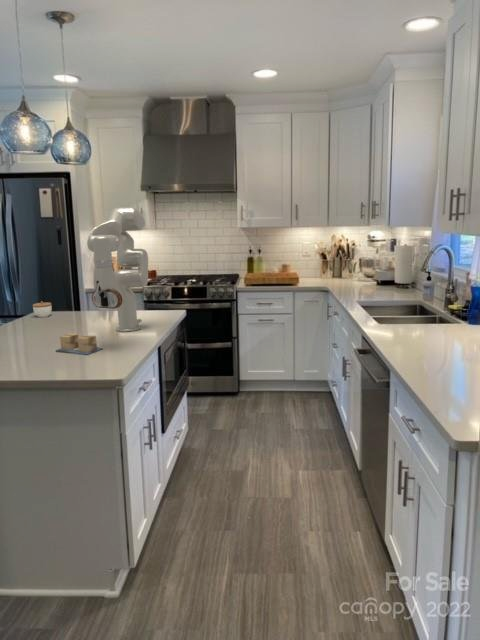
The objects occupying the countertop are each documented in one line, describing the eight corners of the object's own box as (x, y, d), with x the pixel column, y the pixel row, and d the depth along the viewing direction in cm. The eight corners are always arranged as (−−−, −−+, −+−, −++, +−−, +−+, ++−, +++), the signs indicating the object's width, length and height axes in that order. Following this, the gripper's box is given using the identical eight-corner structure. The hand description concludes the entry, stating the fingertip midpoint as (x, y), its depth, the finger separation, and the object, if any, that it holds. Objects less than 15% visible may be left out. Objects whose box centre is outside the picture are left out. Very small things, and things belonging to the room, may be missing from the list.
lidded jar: (34, 315, 306) (33, 300, 304) (53, 314, 309) (51, 299, 307) (33, 318, 296) (31, 303, 294) (52, 317, 299) (50, 301, 297)
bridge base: (71, 346, 230) (70, 332, 228) (102, 349, 222) (101, 334, 221) (55, 351, 221) (54, 337, 219) (87, 355, 214) (86, 340, 212)
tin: (123, 308, 222) (122, 289, 220) (119, 309, 219) (118, 290, 217) (95, 307, 227) (94, 288, 226) (91, 308, 224) (90, 289, 223)
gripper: (107, 262, 228) (111, 302, 232) (84, 266, 213) (88, 308, 217) (121, 262, 225) (124, 302, 229) (99, 266, 210) (102, 309, 214)
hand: (107, 305), depth 223 cm, fingers closed on tin, 2 cm apart
